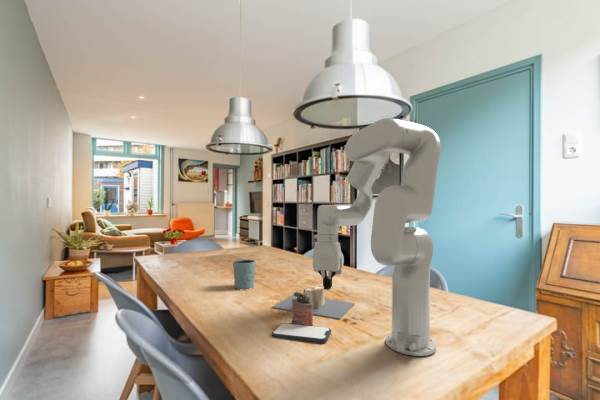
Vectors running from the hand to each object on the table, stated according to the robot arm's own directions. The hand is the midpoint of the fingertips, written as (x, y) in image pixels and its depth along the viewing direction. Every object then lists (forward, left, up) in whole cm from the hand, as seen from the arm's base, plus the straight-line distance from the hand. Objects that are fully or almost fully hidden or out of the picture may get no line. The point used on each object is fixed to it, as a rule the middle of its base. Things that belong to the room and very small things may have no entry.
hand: (327, 288), depth 113 cm
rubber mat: (0, +5, -7) cm, 9 cm away
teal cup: (+10, +44, -7) cm, 46 cm away
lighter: (-19, +1, -7) cm, 21 cm away
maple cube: (0, +2, -4) cm, 4 cm away
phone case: (-25, -2, -8) cm, 26 cm away
